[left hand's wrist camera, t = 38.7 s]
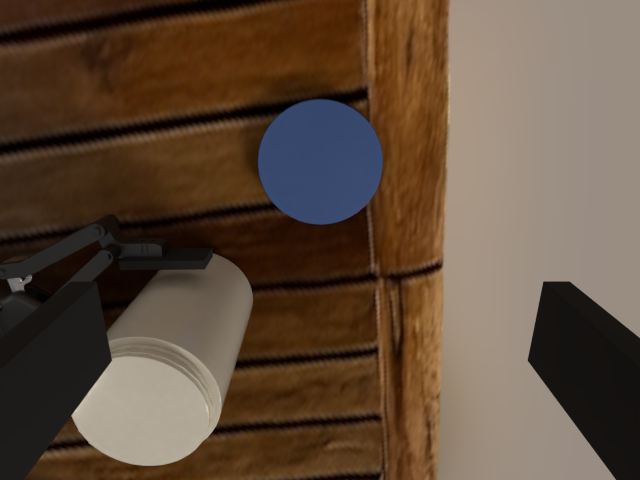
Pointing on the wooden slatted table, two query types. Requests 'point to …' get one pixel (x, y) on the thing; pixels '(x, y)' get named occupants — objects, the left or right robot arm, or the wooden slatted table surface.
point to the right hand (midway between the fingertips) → (216, 332)
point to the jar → (168, 365)
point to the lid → (320, 161)
